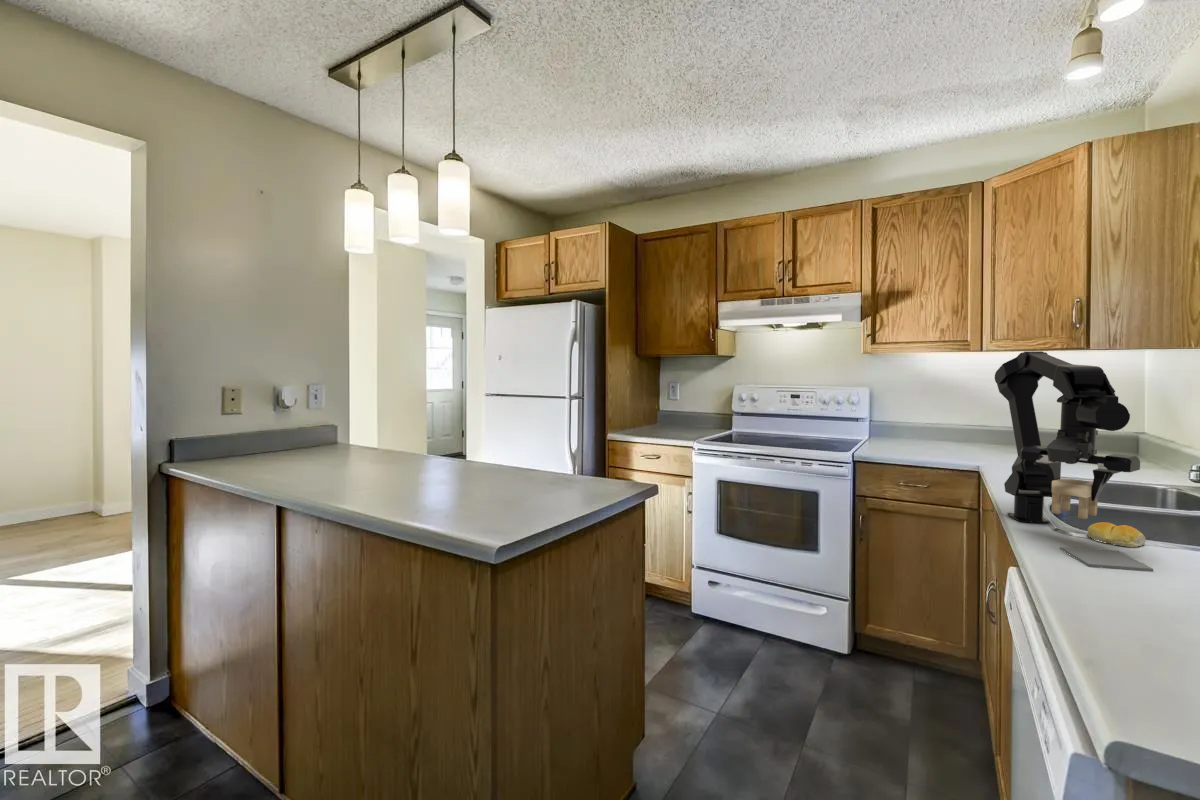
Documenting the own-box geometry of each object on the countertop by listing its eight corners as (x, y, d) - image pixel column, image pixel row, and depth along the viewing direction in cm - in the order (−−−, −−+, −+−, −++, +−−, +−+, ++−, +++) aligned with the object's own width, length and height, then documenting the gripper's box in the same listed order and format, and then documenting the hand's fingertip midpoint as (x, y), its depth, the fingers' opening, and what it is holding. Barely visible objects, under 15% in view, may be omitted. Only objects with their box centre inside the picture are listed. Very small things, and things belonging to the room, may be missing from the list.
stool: (1050, 512, 118) (1051, 480, 118) (1063, 508, 121) (1064, 477, 121) (1085, 519, 113) (1087, 486, 113) (1097, 515, 116) (1099, 482, 116)
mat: (1059, 549, 113) (1059, 546, 113) (1118, 553, 111) (1118, 550, 111) (1088, 566, 104) (1088, 564, 104) (1153, 571, 101) (1153, 568, 101)
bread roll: (1096, 533, 124) (1097, 516, 124) (1149, 545, 116) (1151, 526, 116) (1078, 538, 120) (1079, 521, 120) (1132, 551, 112) (1133, 532, 112)
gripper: (1008, 423, 120) (1006, 493, 121) (1121, 432, 104) (1116, 513, 105) (1033, 420, 126) (1030, 487, 127) (1143, 428, 109) (1138, 505, 110)
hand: (1074, 497), depth 117 cm, fingers closed on stool, 6 cm apart
